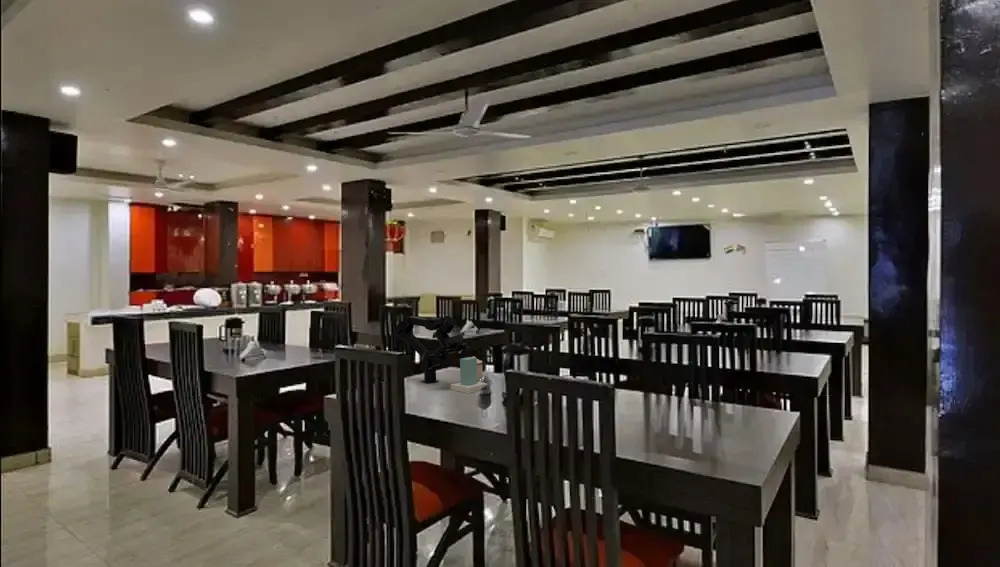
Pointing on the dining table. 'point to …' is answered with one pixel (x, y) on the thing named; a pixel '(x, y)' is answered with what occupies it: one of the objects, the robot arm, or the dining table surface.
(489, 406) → the dining table surface
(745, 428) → the dining table surface
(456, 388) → the plate
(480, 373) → the teacup with lid
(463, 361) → the teal block
